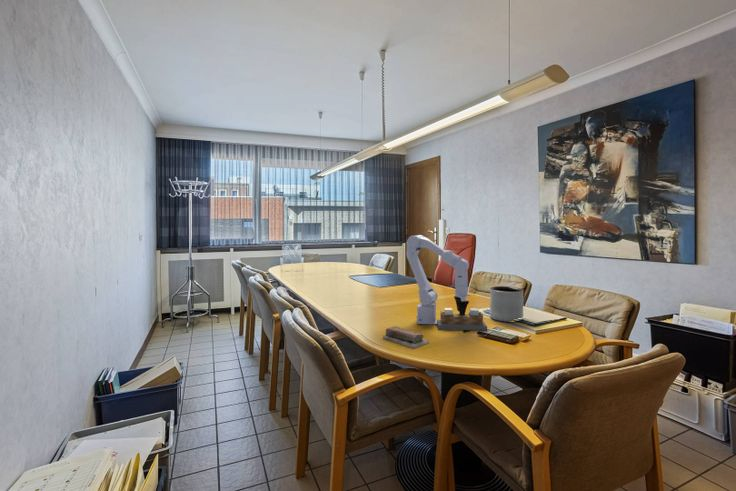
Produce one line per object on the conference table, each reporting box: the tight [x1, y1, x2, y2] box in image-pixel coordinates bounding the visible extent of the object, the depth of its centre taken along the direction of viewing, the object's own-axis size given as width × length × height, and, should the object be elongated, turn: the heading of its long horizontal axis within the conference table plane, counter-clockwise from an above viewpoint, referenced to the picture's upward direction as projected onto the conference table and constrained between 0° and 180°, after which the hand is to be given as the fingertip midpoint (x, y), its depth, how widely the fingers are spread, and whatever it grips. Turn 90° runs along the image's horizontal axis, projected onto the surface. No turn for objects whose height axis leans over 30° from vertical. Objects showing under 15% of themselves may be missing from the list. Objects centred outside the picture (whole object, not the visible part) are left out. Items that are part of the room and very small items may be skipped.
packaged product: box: [382, 325, 430, 349], centre depth 156 cm, size 18×5×10 cm
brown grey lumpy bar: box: [439, 310, 484, 325], centre depth 175 cm, size 19×6×5 cm, turn 84°
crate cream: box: [443, 307, 454, 315], centre depth 176 cm, size 4×4×3 cm
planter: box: [489, 285, 524, 323], centre depth 189 cm, size 16×16×16 cm
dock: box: [436, 318, 488, 331], centre depth 175 cm, size 22×10×2 cm, turn 84°
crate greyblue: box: [469, 307, 480, 315], centre depth 174 cm, size 4×4×3 cm
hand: (461, 313), depth 175 cm, fingers open, 7 cm apart
